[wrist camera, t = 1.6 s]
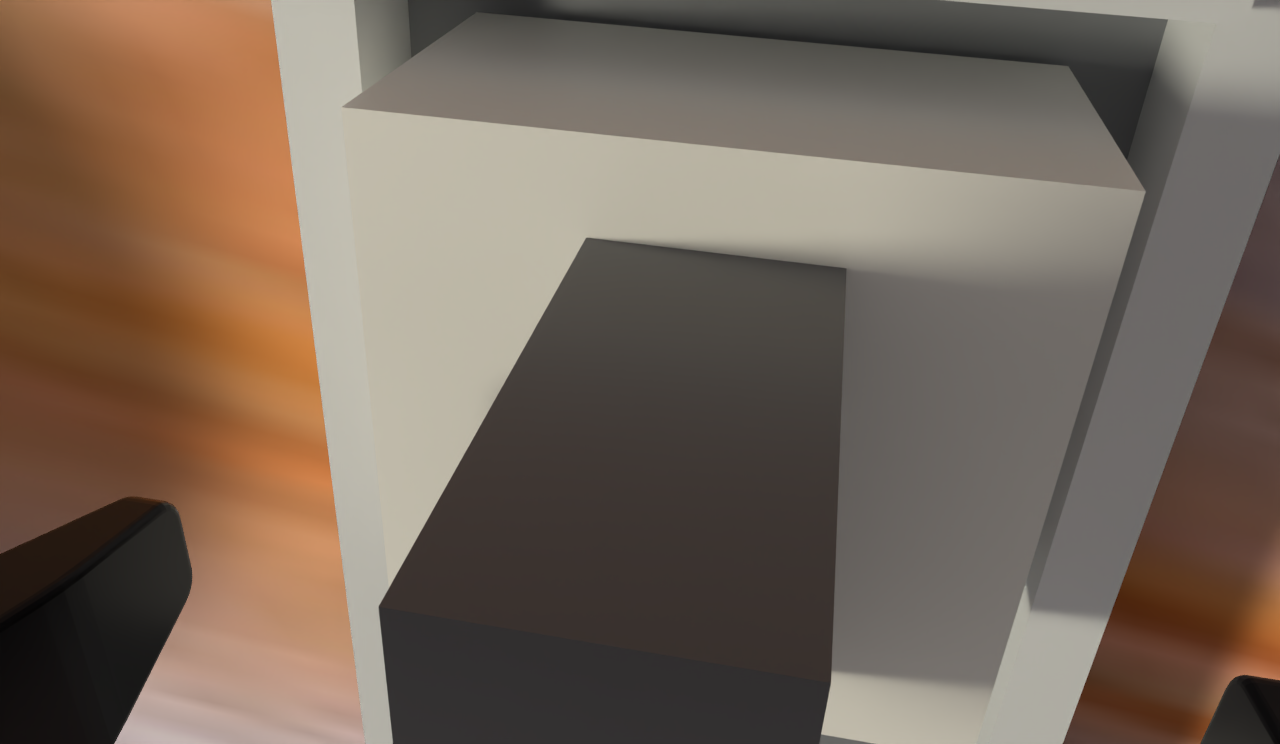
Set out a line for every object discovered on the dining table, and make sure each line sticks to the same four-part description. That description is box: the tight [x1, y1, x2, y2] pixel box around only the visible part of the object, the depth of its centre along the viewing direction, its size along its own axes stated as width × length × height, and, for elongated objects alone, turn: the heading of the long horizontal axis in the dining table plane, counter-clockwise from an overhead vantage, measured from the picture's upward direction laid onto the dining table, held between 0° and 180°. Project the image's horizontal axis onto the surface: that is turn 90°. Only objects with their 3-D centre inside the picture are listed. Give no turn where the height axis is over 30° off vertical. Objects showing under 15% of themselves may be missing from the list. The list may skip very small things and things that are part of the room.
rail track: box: [271, 0, 1280, 744], centre depth 16 cm, size 12×20×3 cm, turn 178°
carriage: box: [341, 12, 1146, 744], centre depth 11 cm, size 7×7×9 cm
